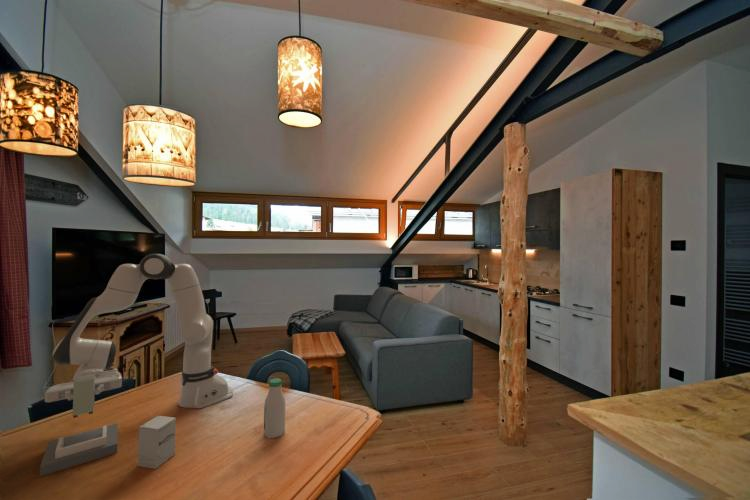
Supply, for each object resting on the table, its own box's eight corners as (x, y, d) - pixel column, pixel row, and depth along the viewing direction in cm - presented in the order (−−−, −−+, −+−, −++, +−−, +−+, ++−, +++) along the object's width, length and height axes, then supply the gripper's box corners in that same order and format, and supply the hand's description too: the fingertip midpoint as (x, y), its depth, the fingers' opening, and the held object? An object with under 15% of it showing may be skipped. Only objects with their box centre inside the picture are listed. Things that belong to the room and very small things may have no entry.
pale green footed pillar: (94, 407, 110) (95, 373, 110) (93, 414, 106) (93, 379, 106) (74, 411, 107) (75, 377, 107) (72, 419, 102) (73, 383, 102)
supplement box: (156, 469, 97) (157, 429, 97) (136, 466, 98) (137, 426, 98) (175, 454, 104) (176, 417, 104) (157, 451, 105) (158, 414, 105)
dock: (117, 431, 117) (117, 416, 117) (117, 452, 104) (117, 436, 105) (48, 450, 105) (49, 434, 105) (39, 476, 93) (40, 458, 93)
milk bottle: (289, 430, 119) (290, 378, 119) (274, 441, 112) (275, 386, 112) (273, 425, 122) (274, 374, 123) (259, 435, 115) (260, 382, 116)
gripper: (47, 380, 110) (40, 394, 99) (122, 367, 123) (122, 378, 112) (47, 398, 110) (39, 414, 99) (121, 383, 123) (121, 395, 112)
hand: (84, 395), depth 106 cm, fingers closed on pale green footed pillar, 5 cm apart
